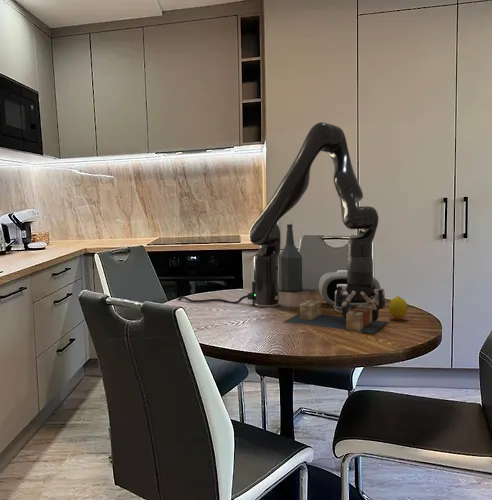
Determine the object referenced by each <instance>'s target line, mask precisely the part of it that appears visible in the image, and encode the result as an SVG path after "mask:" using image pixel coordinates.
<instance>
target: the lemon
mask: <svg viewBox="0 0 492 500" xmlns="http://www.w3.org/2000/svg"><path fill="white" fill-rule="evenodd" d="M408 310H409V309H408V304H407V301H406V300H405V299H404V298H402V297H400V296H396V297H393V298H391V300H390V301H389V303H388V312H389V314H390V315H391V317H393V318H395V320H397V321H399V320H401V319H402V318H405V317H406V315H407V314H408Z"/></svg>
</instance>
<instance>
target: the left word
mask: <svg viewBox="0 0 492 500" xmlns="http://www.w3.org/2000/svg"><path fill="white" fill-rule="evenodd" d="M299 314H300V319H305V320H313V319H315V318H316V317H318V316H320V315H321V314H322V301H321V300H314V299H308V300H307V301H305V302H302V303H300V304H299Z"/></svg>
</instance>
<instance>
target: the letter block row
mask: <svg viewBox="0 0 492 500" xmlns="http://www.w3.org/2000/svg"><path fill="white" fill-rule="evenodd" d="M357 308H363V309H369V323H371V322H372V310H373V308H372V307H371V306H369V305H359V306H358V307H357ZM346 329H349V330H348V331H351V330H356V331H355V332H359V331H360V330H361V329H363V312H354V311H352V310H351V311H350V312H348V313H346Z"/></svg>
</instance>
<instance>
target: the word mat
mask: <svg viewBox="0 0 492 500" xmlns="http://www.w3.org/2000/svg"><path fill="white" fill-rule="evenodd" d="M284 322H285V323H291V324H299V325H305V326H314V327H321V328H328V329H337V330H343V331H353V332H357V331H356V330H349V329H346V318H344V316H341V315H340V316H339V315H331V314H322V313H321V315H320V316H318V317H316V318H315V319H313V320H305V319H300V313H299V314H297V315H294V316H292V317H291V318H289V319H287V320H284ZM387 323H388V322H387V321H382V320H376V321H375V322H373V321H372V322H371V323H369V324H368V325H367V326H366V327H363V329H361V330H360V331H358V333H361V334H368V335H375V333H377V332H378V331H379V330H381V328H383V327H384V326H385V325H387Z"/></svg>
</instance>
